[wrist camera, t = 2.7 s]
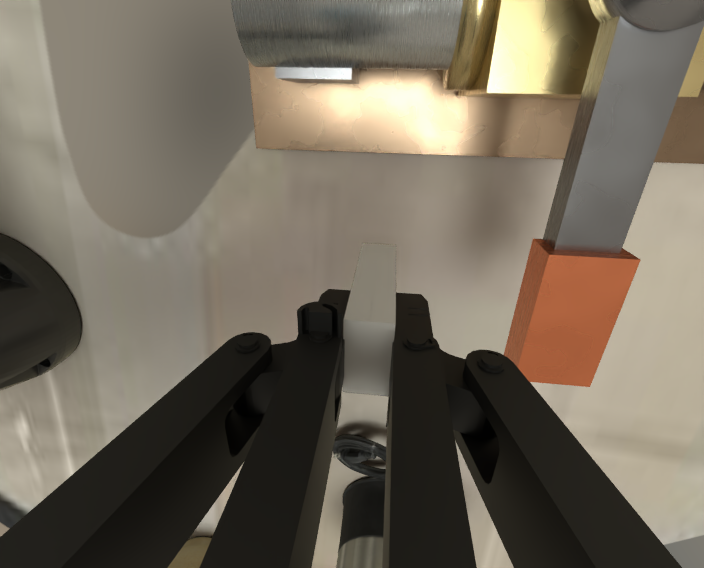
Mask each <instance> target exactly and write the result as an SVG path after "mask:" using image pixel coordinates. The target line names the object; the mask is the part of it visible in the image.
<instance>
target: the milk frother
mask: <svg viewBox="0 0 704 568" xmlns="http://www.w3.org/2000/svg"><path fill="white" fill-rule="evenodd" d="M333 453H334V458H337V459H338V460H339V461H340V462H342V463H343V464H344V465H345V466H347V467H348V468H350V469H352V470H354V471H357V472H359V473H362V474H364V475H368V476H372V477H370V478H366V479H365V478H364V479H361V480H358V481H356V482H354V483H352V484H351V485H350V486H348V487H347V489H346V490H345V492H344V494H343V506H344V509H343V519H342V527H341V536H340V544H339V550H338V559H337V565H336V568H382V561H383V532H384V503H385V475H386V469H379V468H375V467H371V466H367V465H365V464H362V463H360V462H362V461H366V460H368V459H371V458H373V459H375V458H376V456H378V457H380V458H381V459H383V460H384V461H386V447H384V446H383V445H381V444H378V443H376V442H374V441H371V440H369V439H366V438H363V437H358V436H353V435H342V436H339V437H337V438H335V441H334V446H333Z"/></svg>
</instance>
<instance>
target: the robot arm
mask: <svg viewBox="0 0 704 568" xmlns="http://www.w3.org/2000/svg"><path fill="white" fill-rule="evenodd" d="M297 317H298V337H297V339H296V340H294V341H291V342H288V343H282V344H274V345H271V340H270V339H269V338H268V336H266V335H264V334H261V333H255V332H249V333H243V334H240V335H237V336H235V337H233V338H231V339H230V340H228V341H227V342H226V343H225V344H224V345H222V346H221V347H220V348H219V349H218V350H217V351H216V352H214V353H213V354H212V355H211V356H210V357H209V358H207V359H206V360H205V361H204V362H203V363H202V364H200V365H199V366H198V367H197V368H196V369H195V370H193V371H192V372H191V373H190V374H189V375H188V376H187V377H185V378H184V379H183V380H182V381H181V382H180V383H178V384H177V385H176V386H175V387H174V388H173V389H171V390H170V391H169V392H168V393H167V394H166V395H165V396H163V397H162V398H161V399H160V400H159V401H158V402H156V403H155V404H154V405H153V406H152V407H151V408H149V409H148V410H147V411H146V412H145V413H144V414H142V415H141V416H140V417H139V418H138V419H137V420H136V421H134V422H133V423H132V424H131V425H130V426H129V427H127V428H126V429H125V430H124V431H123V432H122V433H120V434H119V435H118V436H117V437H116V438H115V439H114V440H112V441H111V442H110V443H109V444H108V445H107V446H105V447H104V448H103V449H102V450H101V451H100V452H98V453H97V454H96V455H95V456H94V457H93V458H91V459H90V460H89V461H88V462H87V463H86V464H85V465H83V466H82V467H81V468H80V469H79V470H78V471H76V472H75V473H74V474H73V475H72V476H71V477H69V478H68V479H67V480H66V481H65V482H64V483H63V484H61V485H60V486H59V487H58V488H57V489H56V490H54V491H53V492H52V493H51V494H50V495H49V496H47V497H46V498H45V499H44V500H43V501H42V502H40V503H39V504H38V505H37V506H36V507H35V508H34V509H32V510H31V511H30V512H29V513H28V514H27V515H25V516H24V517H23V518H22V519H21V520H20V521H18V522H17V523H16V524H15V525H14V526H13V527H11V528H10V529H9V530H8V531H7V532H6V533H5V534H3V536H1V537H0V568H168V566H169V565H170V564H171V562H172V561H173V559H174V558H175V557H176V555H177V554H178V553H179V551H180V550H181V548H182V547H183V546H184V544H185V543H186V541H187V540H188V539H189V537H190V536H191V534H192V533H193V532H194V530H195V529H196V527H197V526H198V525H199V523H200V522H201V521H202V519H203V518H204V516H205V515H206V514H207V512H208V511H209V509H210V508H211V507H212V505H213V504H214V502H215V501H216V500H217V498H218V497H219V496H220V494H221V493H222V491H223V490H224V489H225V487H226V486H227V484H228V483H229V482H230V480H231V479H232V477H233V476H234V475H235V473H236V472H237V470H238V469H239V468H240V466H241V465H242V464H243V462H244V464H243V466H242V468H241V471H240V473H239V476H238V478H237V480H236V483H235V485H234V487H233V490H232V492H231V494H230V497H229V499H228V501H227V504H226V506H225V509H224V511H223V513H222V516H221V518H220V520H219V523H218V525H217V527H216V530H215V532H214V534H213V537H212V539H211V542H210V544H209V546H208V549H207V551H206V553H205V556H204V558H203V560H202V563H201V565H200V567H199V568H311V566H312V561H313V556H314V550H315V545H316V539H317V534H318V528H319V523H320V517H321V512H322V506H323V501H324V495H325V490H326V484H327V479H328V473H329V468H330V463H331V457H332V452H333V446H334V441H335V435H336V430H337V424H338V419H339V413H340V408H341V391H342V386H343V392H348V393H358V394H369V395H380V396H389V400H388V412H387V423H386V427H387V446H386V475H385V503H384V532H383V561H382V568H477V567H476V561H475V556H474V550H473V544H472V538H471V532H470V526H469V520H468V514H467V508H466V502H465V496H464V490H463V485H462V479H461V473H460V467H459V461H458V455H457V449H456V443H457V445H458V447H459V449H460V451H461V453H462V456H463V458H464V460H465V462H466V464H467V466H468V469H469V471H470V473H471V475H472V477H473V479H474V482H475V484H476V486H477V488H478V490H479V493H480V495H481V497H482V499H483V501H484V503H485V506H486V508H487V510H488V512H489V514H490V516H491V519H492V521H493V523H494V525H495V527H496V529H497V532H498V534H499V536H500V538H501V540H502V543H503V545H504V547H505V549H506V551H507V553H508V556H509V558H510V560H511V562H512V564H513V566H514V568H682V567H681V566H680V565H679V563H678V562H677V561H676V560H675V559H674V558H673V556H672V555H671V554H670V553H669V551H668V550H667V549H666V548H665V546H664V545H663V544H662V543H661V542H660V540H659V539H658V538H657V537H656V535H655V534H654V533H653V532H652V531H651V529H650V528H649V527H648V526H647V524H646V523H645V522H644V521H643V520H642V518H641V517H640V516H639V515H638V514H637V512H636V511H635V510H634V509H633V507H632V506H631V505H630V504H629V503H628V501H627V500H626V499H625V498H624V496H623V495H622V494H621V493H620V492H619V490H618V489H617V488H616V487H615V486H614V484H613V483H612V482H611V481H610V479H609V478H608V477H607V476H606V475H605V473H604V472H603V471H602V470H601V468H600V467H599V466H598V465H597V464H596V462H595V461H594V460H593V459H592V457H591V456H590V455H589V454H588V453H587V451H586V450H585V449H584V448H583V447H582V445H581V444H580V443H579V442H578V440H577V439H576V438H575V437H574V436H573V434H572V433H571V432H570V431H569V429H568V428H567V427H566V426H565V425H564V423H563V422H562V421H561V420H560V419H559V417H558V416H557V415H556V414H555V412H554V411H553V410H552V409H551V408H550V406H549V405H548V404H547V403H546V401H545V400H544V399H543V398H542V397H541V395H540V394H539V393H538V392H537V390H536V389H535V388H534V387H533V386H532V384H531V383H530V382H529V381H528V380H527V378H526V377H525V376H524V375H523V373H522V372H521V371H520V370H519V369H518V367H517V366H516V365H515V364H514V363H513V362H512V361H511V360H510V359H509V358H508V357H506V356H504V355H502V354H500V353H498V352H495V351H490V350H476V351H472V352H471V353H469V354H468V355H467V357H466V359H462V358H459V357H455V356H453V355H450V354H448V353H446V352H444V351H442V350H441V349H440V348H439V344H438V342H437V340H436V339H434V338H433V333H432V326H431V320H430V313H429V307H428V301H427V300H426V299H425V298H424V297H423V296H422V295H421V294H407V293H396V245H389V244H372V243H363V244H362V248H361V252H360V256H359V260H358V264H357V268H356V272H355V276H354V280H353V284H352V288H351V291H349V290H335V289H328V290H327V291H326V292H324V293H323V294H322V295H321V296H320V299H319V301H318V302H311V303H307V304H305V305H303V306H301V307H300V308H299V309H298V310H297ZM80 335H81V322H80V316H79V312H78V309H77V306H76V304H75V302H74V299H73V297H72V296H71V294H70V292H69V290H68V289H67V287H66V286H65V284H64V283H63V281H62V280H61V279H60V278H59V276H58V275H57V274H56V273H55V272H54V271H53V270H52V269H51V268H50V267H49V266H48V265H47V264H46V263H45V262H44V261H43V260H42V259H41V258H40V257H38V256H37V255H36V254H35V253H33V252H32V251H31V250H29V249H28V248H26V247H25V246H23V245H22V244H20V243H18V242H16V241H15V240H13V239H11V238H9V237H7V236H4V235H2V234H0V390H3V389H6V388H8V387H11V386H13V385H16V384H19V383H21V382H24V381H26V380H29V379H32V378H34V377H37V376H39V375H42V374H44V373H46V372H48V371H49V370H51V369H53V368H54V367H55V366H56V365H58V364H59V363H60V362H62V361H63V360H64V359H66V358H67V357H68V356H70V355H71V354H72V353H73V351H74V350H75V349H76V347H77V345H78V343H79V340H80ZM455 440H456V443H455Z"/></svg>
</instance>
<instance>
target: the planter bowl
mask: <svg viewBox="0 0 704 568" xmlns="http://www.w3.org/2000/svg"><path fill="white" fill-rule="evenodd" d="M211 539H212V538H209V537H197V538H192V539H190V540H188V541H186V543H185V544H184V546H183V547H182V548H181V550H180V551H179V553H178V554H177V555H176V557H175V558H174V559H173V561H172V562H171V564H170V565H169V566H168V568H199V567H200V565H201V563H202V560H203V558H204V556H205V553H206V551H207V549H208V546H209V544H210V542H211Z"/></svg>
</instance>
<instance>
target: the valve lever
mask: <svg viewBox="0 0 704 568" xmlns="http://www.w3.org/2000/svg"><path fill="white" fill-rule="evenodd" d="M589 3H590V6H591V9H592V11H593V13H594V15H595V17H596V19H597V20H598V21H599V23H600V26H599V30H598V34H597V37H596V41H595V45H594V49H593V52H592V56H591V60H590V64H589V68H588V71H587V75H586V79H585V83H584V86H583V90H582V94H581V98H580V102H579V105H578V109H577V113H576V117H575V120H574V124H573V128H572V132H571V136H570V139H569V143H568V147H567V151H566V154H565V158H564V162H563V166H562V170H561V173H560V177H559V181H558V185H557V188H556V192H555V196H554V200H553V204H552V207H551V211H550V215H549V219H548V222H547V226H546V230H545V234H544V238H543V239H533V241H532V245H531V249H530V253H529V257H528V261H527V265H526V269H525V273H524V277H523V281H522V285H521V289H520V293H519V297H518V300H517V304H516V308H515V312H514V316H513V320H512V324H511V328H510V332H509V336H508V340H507V344H506V348H505V352H504V356H506V357H508V358H509V359H510V360H511V361H512V362H513V363H514V364H515V365H516V366H517V367H518V369H519V370H520V371H521V372H522V373H523V375H524V376H525V377H526V378H527V380H528V381H529V382H539V383H551V384H562V385H574V386H586V387H590V385H591V383H592V380H593V378H594V375H595V373H596V370H597V368H598V365H599V363H600V360H601V358H602V355H603V353H604V350H605V348H606V345H607V343H608V340H609V338H610V335H611V333H612V330H613V328H614V325H615V323H616V320H617V318H618V315H619V313H620V310H621V308H622V305H623V303H624V300H625V298H626V295H627V293H628V290H629V287H630V285H631V282H632V280H633V277H634V275H635V272H636V270H637V267H638V265H639V262H640V259H638V258H637V257H635V256H634V255H632V254H631V253H629V252H627V251H626V250H624V249H623V248H622V246H623V244H624V241H625V238H626V235H627V233H628V230H629V227H630V225H631V222H632V219H633V217H634V214H635V211H636V208H637V206H638V203H639V200H640V198H641V195H642V192H643V189H644V187H645V184H646V181H647V179H648V176H649V173H650V170H651V168H652V165H653V162H654V160H655V157H656V154H657V152H658V149H659V146H660V143H661V141H662V138H663V135H664V133H665V130H666V127H667V124H668V122H669V119H670V116H671V114H672V111H673V108H674V106H675V103H676V100H677V97H678V95H679V92H680V89H681V87H682V84H683V81H684V78H685V76H686V73H687V70H688V68H689V65H690V62H691V59H692V57H693V54H694V51H695V49H696V46H697V43H698V41H699V38H700V35H701V32H702V30H703V27H704V0H589Z"/></svg>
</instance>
